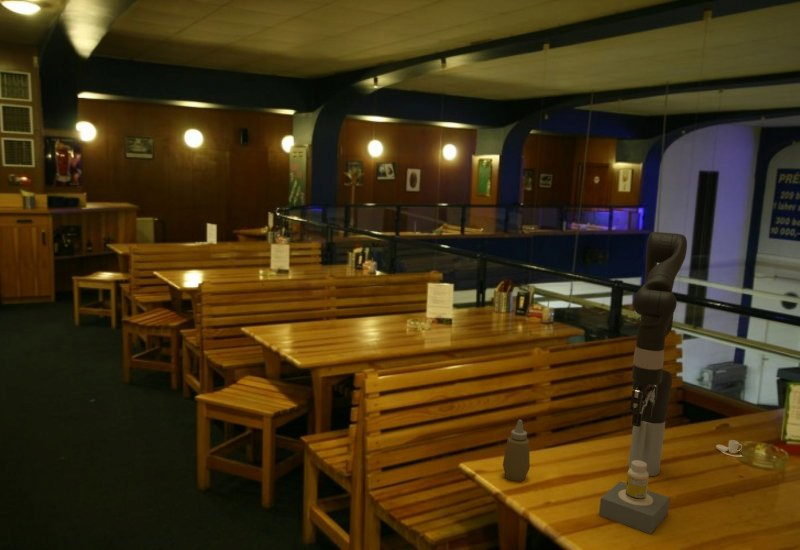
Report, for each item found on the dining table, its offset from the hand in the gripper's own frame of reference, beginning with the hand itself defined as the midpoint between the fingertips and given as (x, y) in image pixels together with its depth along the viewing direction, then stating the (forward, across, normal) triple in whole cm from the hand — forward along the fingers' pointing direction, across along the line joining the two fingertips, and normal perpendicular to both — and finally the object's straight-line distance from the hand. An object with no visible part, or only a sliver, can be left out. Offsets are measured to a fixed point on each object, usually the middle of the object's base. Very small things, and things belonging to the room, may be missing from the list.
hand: (641, 421), depth 186 cm
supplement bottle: (+21, -2, -1) cm, 21 cm away
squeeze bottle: (+26, -5, +34) cm, 43 cm away
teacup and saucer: (+28, +68, -9) cm, 74 cm away
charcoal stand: (+26, -2, -1) cm, 26 cm away
